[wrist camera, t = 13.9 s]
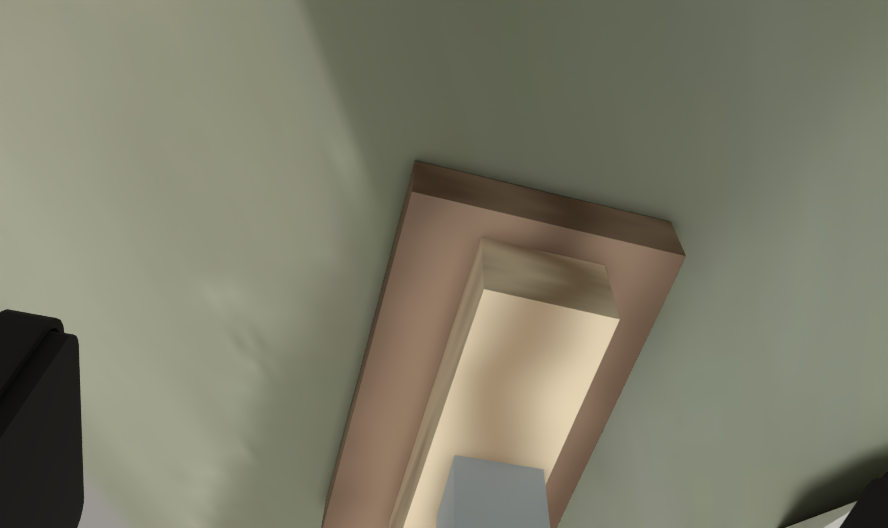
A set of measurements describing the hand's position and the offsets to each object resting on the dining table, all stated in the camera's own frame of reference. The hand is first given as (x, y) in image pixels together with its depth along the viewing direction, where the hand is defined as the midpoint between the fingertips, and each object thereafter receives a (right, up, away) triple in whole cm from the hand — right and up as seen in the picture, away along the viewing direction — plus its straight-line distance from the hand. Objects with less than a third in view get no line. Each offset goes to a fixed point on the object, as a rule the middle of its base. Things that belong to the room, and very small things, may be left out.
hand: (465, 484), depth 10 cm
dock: (+2, -3, +34) cm, 34 cm away
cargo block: (+2, -8, +28) cm, 29 cm away
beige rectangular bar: (+2, -4, +31) cm, 31 cm away
